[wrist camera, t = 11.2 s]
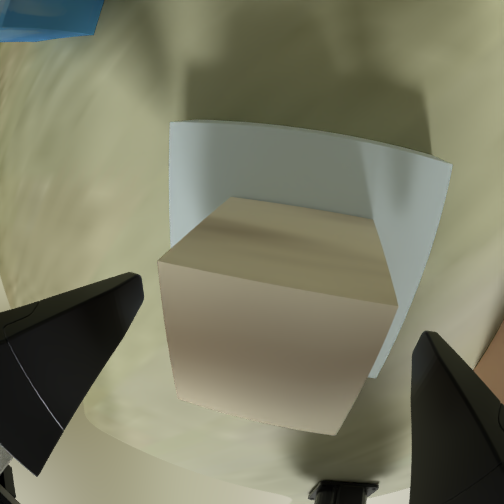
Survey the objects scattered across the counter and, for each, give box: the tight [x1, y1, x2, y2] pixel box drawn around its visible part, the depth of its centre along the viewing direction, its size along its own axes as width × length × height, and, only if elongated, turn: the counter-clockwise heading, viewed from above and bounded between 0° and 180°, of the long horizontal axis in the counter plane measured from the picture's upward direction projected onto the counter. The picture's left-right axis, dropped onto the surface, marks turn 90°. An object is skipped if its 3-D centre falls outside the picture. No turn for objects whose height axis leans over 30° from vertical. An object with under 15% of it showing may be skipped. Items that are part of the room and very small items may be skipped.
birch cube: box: [157, 197, 399, 436], centre depth 9 cm, size 5×5×5 cm
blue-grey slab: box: [169, 119, 453, 378], centre depth 13 cm, size 10×10×3 cm
